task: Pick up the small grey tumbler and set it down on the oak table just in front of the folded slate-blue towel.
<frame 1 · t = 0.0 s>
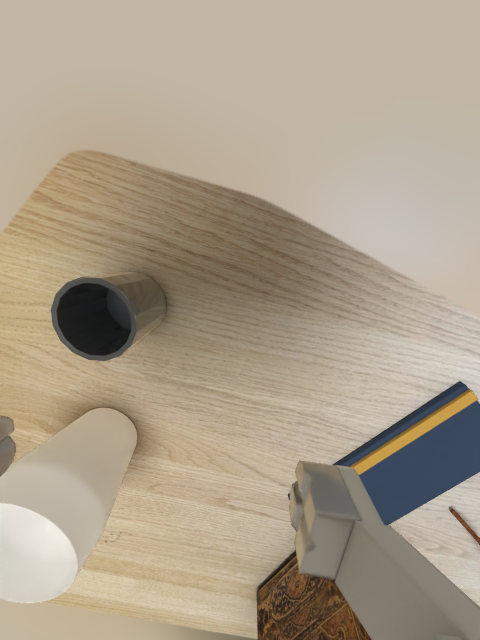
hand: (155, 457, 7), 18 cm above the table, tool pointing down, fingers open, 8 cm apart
book: (307, 568, 32), on the table, touching towel
grey tumbler: (135, 303, 25), on the table
towel: (393, 471, 29), on the table
cup: (109, 432, 29), on the table
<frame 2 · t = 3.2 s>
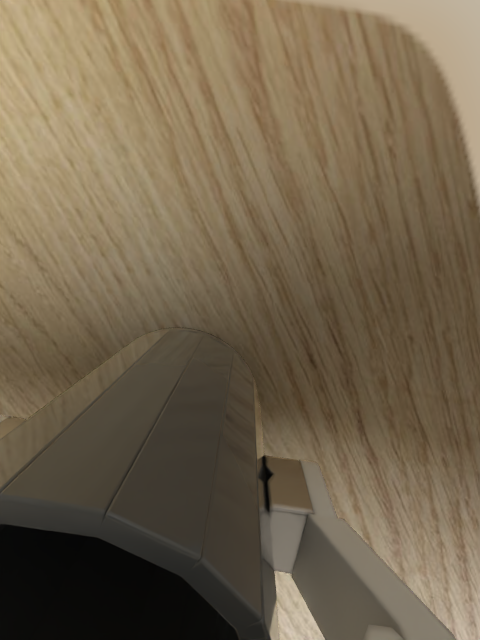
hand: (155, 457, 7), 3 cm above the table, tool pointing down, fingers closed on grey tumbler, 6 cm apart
grey tumbler: (182, 399, 10), on the table, touching gripper
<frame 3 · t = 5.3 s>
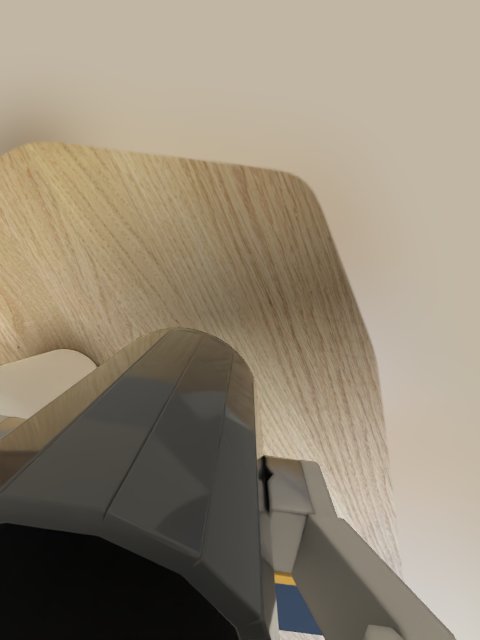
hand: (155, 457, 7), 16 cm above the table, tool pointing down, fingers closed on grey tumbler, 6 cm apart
grey tumbler: (182, 399, 10), point 13 cm above the table, touching gripper
towel: (247, 588, 31), on the table
cup: (71, 379, 25), on the table
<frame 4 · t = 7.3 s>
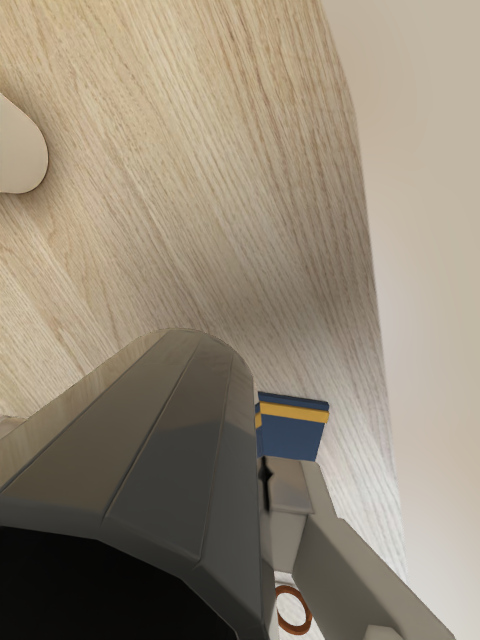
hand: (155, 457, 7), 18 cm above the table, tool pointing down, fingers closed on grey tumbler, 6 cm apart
grey tumbler: (182, 400, 10), point 15 cm above the table, touching gripper
towel: (217, 427, 28), on the table
glasses: (266, 539, 32), on the table
cup: (13, 153, 22), on the table
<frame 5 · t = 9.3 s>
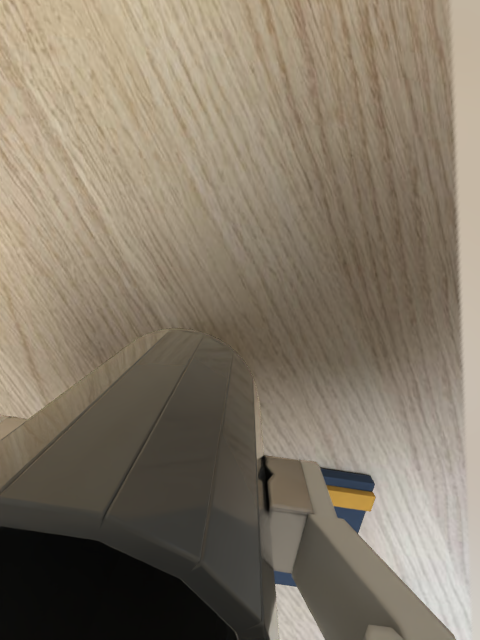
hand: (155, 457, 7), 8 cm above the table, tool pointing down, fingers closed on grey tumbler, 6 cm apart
grey tumbler: (182, 400, 10), point 5 cm above the table, touching gripper
towel: (199, 509, 18), on the table
when the fingers open (3 cm above the table, at t = 11.2 s): grey tumbler stays where it is, on the table.
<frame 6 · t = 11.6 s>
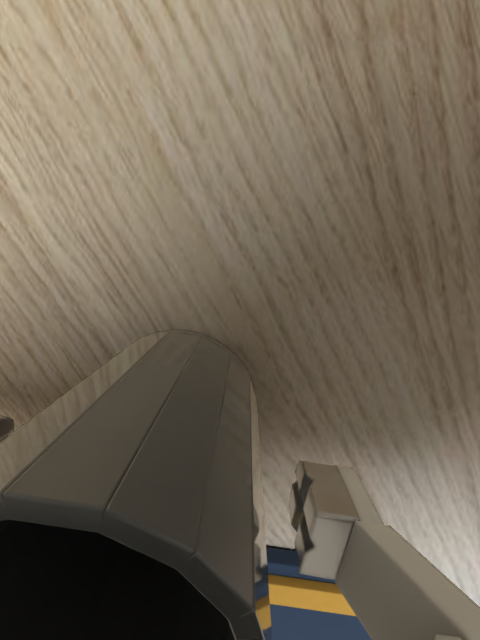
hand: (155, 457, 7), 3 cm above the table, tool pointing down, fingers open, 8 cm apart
grey tumbler: (181, 400, 10), on the table
towel: (178, 608, 13), on the table
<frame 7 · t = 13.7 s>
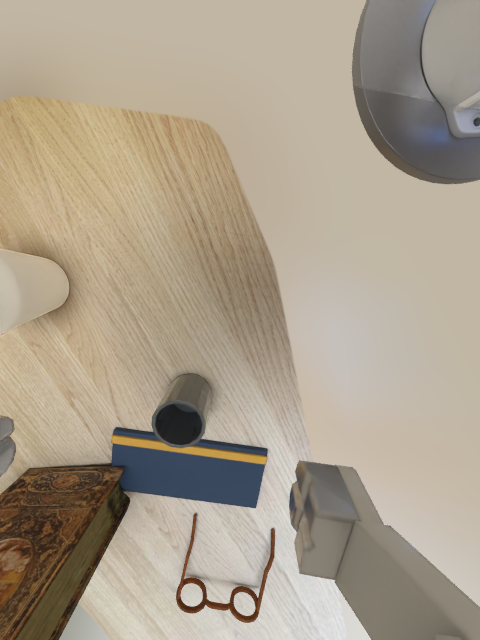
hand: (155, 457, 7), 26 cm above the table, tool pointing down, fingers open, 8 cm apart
book: (78, 481, 39), on the table, touching towel
grey tumbler: (190, 393, 36), on the table
towel: (188, 467, 38), on the table
glasses: (227, 550, 42), on the table
cup: (45, 283, 33), on the table
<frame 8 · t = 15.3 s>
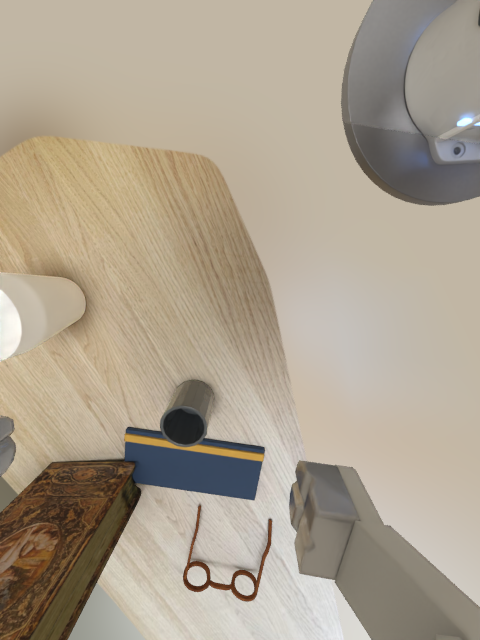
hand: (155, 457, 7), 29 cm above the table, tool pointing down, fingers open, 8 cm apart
book: (95, 474, 43), on the table, touching towel
grey tumbler: (194, 397, 39), on the table
towel: (193, 462, 42), on the table
glasses: (228, 537, 46), on the table
cup: (64, 300, 37), on the table
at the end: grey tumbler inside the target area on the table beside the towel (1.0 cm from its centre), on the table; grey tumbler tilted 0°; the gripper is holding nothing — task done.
